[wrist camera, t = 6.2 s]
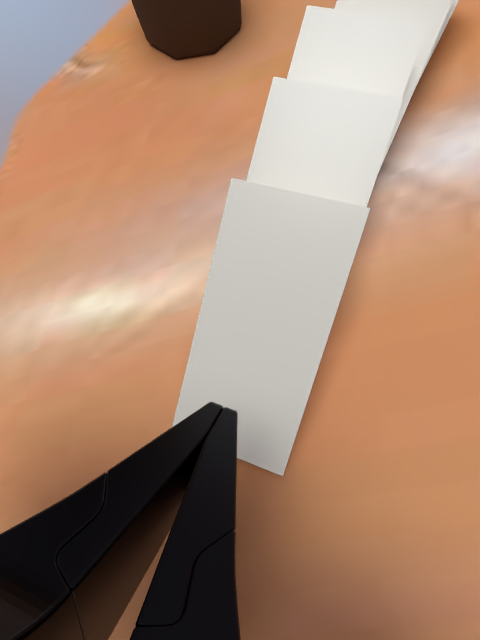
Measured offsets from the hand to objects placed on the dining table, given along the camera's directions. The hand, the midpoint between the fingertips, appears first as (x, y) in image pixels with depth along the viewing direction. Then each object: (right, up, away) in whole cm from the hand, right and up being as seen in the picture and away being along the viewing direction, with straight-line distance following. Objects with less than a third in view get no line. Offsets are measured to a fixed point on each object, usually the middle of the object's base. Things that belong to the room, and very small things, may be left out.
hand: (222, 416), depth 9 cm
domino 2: (+2, +2, +7) cm, 7 cm away
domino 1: (0, -3, +6) cm, 6 cm away
